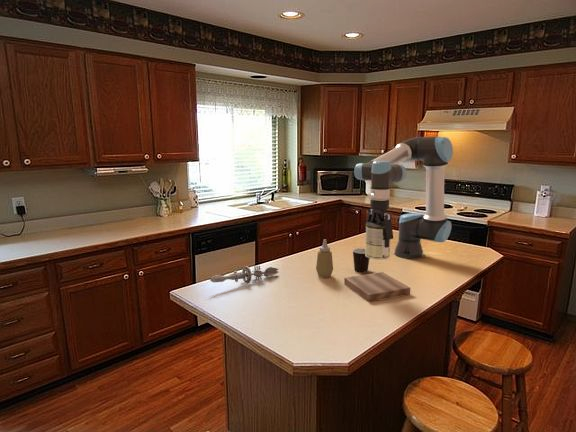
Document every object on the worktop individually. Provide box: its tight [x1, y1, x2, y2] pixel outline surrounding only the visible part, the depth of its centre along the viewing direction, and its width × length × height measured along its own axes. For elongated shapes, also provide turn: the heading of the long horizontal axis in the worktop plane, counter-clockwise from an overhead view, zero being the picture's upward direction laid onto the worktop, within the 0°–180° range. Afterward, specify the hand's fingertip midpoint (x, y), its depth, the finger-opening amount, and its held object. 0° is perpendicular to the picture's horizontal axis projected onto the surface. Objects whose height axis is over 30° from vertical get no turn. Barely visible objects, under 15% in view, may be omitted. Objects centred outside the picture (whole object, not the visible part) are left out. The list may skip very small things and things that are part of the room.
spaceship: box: [209, 265, 280, 285], centre depth 170 cm, size 8×35×8 cm
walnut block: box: [343, 271, 411, 303], centre depth 163 cm, size 20×20×3 cm
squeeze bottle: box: [315, 239, 334, 279], centre depth 177 cm, size 8×8×18 cm
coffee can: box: [365, 222, 391, 261], centre depth 159 cm, size 10×10×14 cm
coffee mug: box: [352, 247, 371, 274], centre depth 184 cm, size 12×9×10 cm
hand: (377, 250), depth 160 cm, fingers closed on coffee can, 10 cm apart
